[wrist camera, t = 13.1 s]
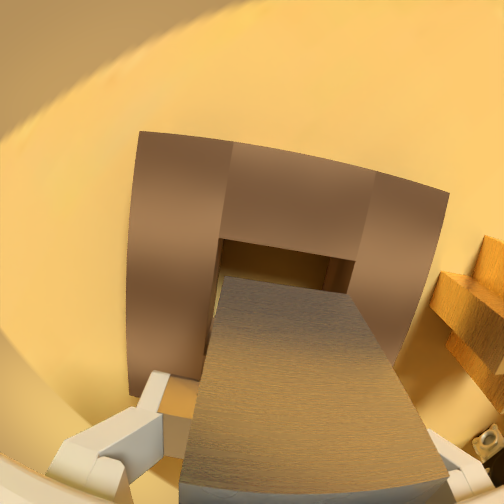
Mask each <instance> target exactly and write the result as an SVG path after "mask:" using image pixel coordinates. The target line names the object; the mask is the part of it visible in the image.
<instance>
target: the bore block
mask: <svg viewBox="0 0 504 504" xmlns="http://www.w3.org/2000/svg"><path fill="white" fill-rule="evenodd" d="M449 194H450V193H448V192H445V191H442V190H439V189H436V188H433V187H430V186H426V185H423V184H420V183H417V182H413V181H410V180H406V179H403V178H399V177H396V176H392V175H389V174H385V173H381V172H378V171H374V170H370V169H366V168H362V167H358V166H354V165H350V164H346V163H342V162H337V161H333V160H329V159H324V158H320V157H315V156H310V155H305V154H301V153H296V152H291V151H285V150H280V149H275V148H269V147H263V146H257V145H251V144H245V143H239V142H232V141H225V140H218V139H211V138H203V137H195V136H187V135H178V134H168V133H157V132H146V131H140V132H139V138H138V145H137V152H136V160H135V168H134V176H133V185H132V195H131V206H130V218H129V232H128V249H127V274H126V340H127V364H128V381H129V395H131V396H135V397H139V398H140V397H141V395H142V393H143V390H144V388H145V386H146V383H147V381H148V379H149V376H150V374H151V372H152V371H154V370H156V371H161V372H165V373H169V374H175V375H179V376H184V377H189V378H193V379H198V380H201V377H202V372H203V368H204V363H205V359H206V354H207V350H208V346H209V341H210V337H211V333H212V328H213V324H214V320H215V318H213V312H214V305H215V298H216V290H217V283H218V276H219V269H220V262H221V256H222V249H223V242H224V239H229V240H235V241H241V242H247V243H253V244H259V245H265V246H271V247H277V248H283V249H289V250H295V251H300V252H306V253H312V254H318V255H324V256H330V261H329V265H328V269H327V273H326V277H325V281H324V284H323V288H322V291H328V292H335V293H342V294H349V296H350V297H351V299H352V300H353V302H354V304H355V305H356V307H357V308H358V310H359V312H360V313H361V315H362V317H363V318H364V320H365V322H366V323H367V325H368V326H369V328H370V330H371V331H372V333H373V335H374V336H375V338H376V340H377V342H378V343H379V345H380V347H381V348H382V350H383V352H384V353H385V355H386V357H387V359H388V360H389V362H390V364H391V366H392V367H393V365H394V363H395V361H396V358H397V356H398V354H399V351H400V349H401V347H402V344H403V342H404V339H405V337H406V335H407V332H408V330H409V327H410V324H411V322H412V319H413V317H414V314H415V311H416V309H417V306H418V303H419V300H420V297H421V295H422V292H423V289H424V286H425V283H426V280H427V277H428V274H429V270H430V267H431V264H432V261H433V257H434V254H435V250H436V247H437V243H438V240H439V236H440V232H441V228H442V224H443V220H444V216H445V212H446V208H447V203H448V199H449Z"/></svg>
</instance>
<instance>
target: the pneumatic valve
mask: <svg viewBox="0 0 504 504" xmlns="http://www.w3.org/2000/svg"><path fill="white" fill-rule="evenodd" d="M472 445H473V447H474V450H475V452H476V454H479V456H480V458H481V460H482V463H483V464H482V465H483V467H484V469H485V470H486V472H487V474H488V476H489V478H490V479H491V481H492V483H493V485H494V487H495V488H497V487H500V486H502V485H504V438H503V436H502V434H501V432H500V431H499V430H498V425H497V424H492V425H491V426H490V429H488V430H487V431H485V432H484V433H483V434H482V435H480V437H476V438H474V439H473V440H472Z"/></svg>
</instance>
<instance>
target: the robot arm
mask: <svg viewBox="0 0 504 504" xmlns="http://www.w3.org/2000/svg"><path fill="white" fill-rule="evenodd" d="M200 381H201V380H198V379H193V378H189V377H184V376H179V375H175V374H169V373H165V372H161V371H156V370H154V371H152V372H151V374H150V376H149V379H148V381H147V383H146V386H145V388H144V390H143V393H142V395H141V397H140V399H139V402H138V404H137V406H136V408H135V407H129V408H127V409H125V410H123V411H121V412H119V413H117V414H116V415H114V416H112V417H110V418H108V419H106V420H104V421H102V422H100V423H98V424H96V425H94V426H92V427H90V428H88V429H86V430H84V431H82V432H80V433H78V434H76V435H74V436H72V437H70V438H68V439H66V440H64V442H63V444H62V445H61V447H60V449H59V450H58V452H57V454H56V456H55V458H54V460H53V461H52V463H51V465H50V467H49V468H48V470H47V473H46V474H45V475H43V474H41V473H38V472H37V471H34V470H33V469H31V468H29V467H27V466H25V465H23V464H21V463H19V462H17V461H15V460H14V459H12V458H10V457H8V456H6V455H5V454H3V453H1V452H0V504H134V503H133V500H132V496H131V492H130V488H129V485H130V484H131V483H132V482H133V481H135V480H136V479H137V478H139V477H140V476H141V475H142V474H144V473H145V472H146V471H147V470H148V469H150V468H151V467H152V466H153V465H155V464H156V463H157V462H158V461H159V460H161V459H162V458H163V455H164V456H169V457H174V458H180V459H184V455H185V450H186V446H187V441H188V436H189V431H190V427H191V422H192V417H193V413H194V408H195V404H196V399H197V395H198V390H199V386H200ZM427 431H428V433H429V435H430V437H431V439H432V441H433V443H434V445H435V446H436V448H437V450H438V452H439V454H440V456H441V458H442V460H443V462H444V464H445V466H446V469H447V471H448V473H449V475H450V477H449V478H448V479H447V480H446V481H445V482H444V483H443V484H442V485H441V486H440V488H439V489H438V490H437V491H436V492H435V493H434V494H433V495H432V496H431V497H430V498H429V499H428V500H427V501H426V502H425V503H424V504H504V485H502V486H500V487H497V488H495V487H494V485H493V483H492V481H491V479H490V478H489V476H488V474H487V472H486V470H485V469H484V467H483V465H482V463H481V462H480V461H478V460H477V459H475V458H474V457H472V456H470V455H469V454H467V453H466V452H464V451H463V450H461V449H460V448H458V447H456V446H455V445H453V444H452V443H450V442H449V441H447V440H446V439H444V438H443V437H441V436H440V435H438V434H437V433H435V432H434V431H432V430H431V429H427Z"/></svg>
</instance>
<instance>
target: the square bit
mask: <svg viewBox="0 0 504 504" xmlns="http://www.w3.org/2000/svg"><path fill="white" fill-rule="evenodd" d="M449 477H450V475H449V473H448V471H447V469H446V466H445V464H444V462H443V460H442V458H441V456H440V454H439V452H438V450H437V448H436V446H435V445H434V443H433V441H432V439H431V437H430V435H429V433H428V431H427V429H426V427H425V425H424V423H423V422H422V420H421V418H420V416H419V414H418V412H417V410H416V408H415V407H414V405H413V403H412V401H411V399H410V397H409V396H408V394H407V392H406V390H405V388H404V387H403V385H402V383H401V381H400V380H399V378H398V376H397V374H396V372H395V371H394V369H393V367H392V366H391V364H390V362H389V360H388V359H387V357H386V355H385V353H384V352H383V350H382V348H381V347H380V345H379V343H378V342H377V340H376V338H375V336H374V335H373V333H372V331H371V330H370V328H369V326H368V325H367V323H366V322H365V320H364V318H363V317H362V315H361V313H360V312H359V310H358V308H357V307H356V305H355V304H354V302H353V300H352V299H351V297H350V296H349V294H342V293H335V292H328V291H321V290H314V289H307V288H301V287H294V286H287V285H281V284H274V283H268V282H261V281H255V280H249V279H242V278H236V277H230V276H225V278H224V282H223V286H222V290H221V294H220V298H219V303H218V307H217V311H216V315H215V320H214V324H213V328H212V333H211V337H210V341H209V346H208V350H207V354H206V359H205V363H204V368H203V372H202V377H201V381H200V386H199V390H198V395H197V399H196V404H195V408H194V413H193V417H192V422H191V427H190V431H189V436H188V441H187V446H186V450H185V455H184V460H183V465H182V470H181V474H180V479H179V504H424V503H425V502H426V501H427V500H428V499H429V498H430V497H431V496H432V495H433V494H434V493H435V492H436V491H437V490H438V489H439V488H440V486H441V485H442V484H443V483H444V482H445V481H446V480H447V479H448V478H449Z"/></svg>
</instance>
